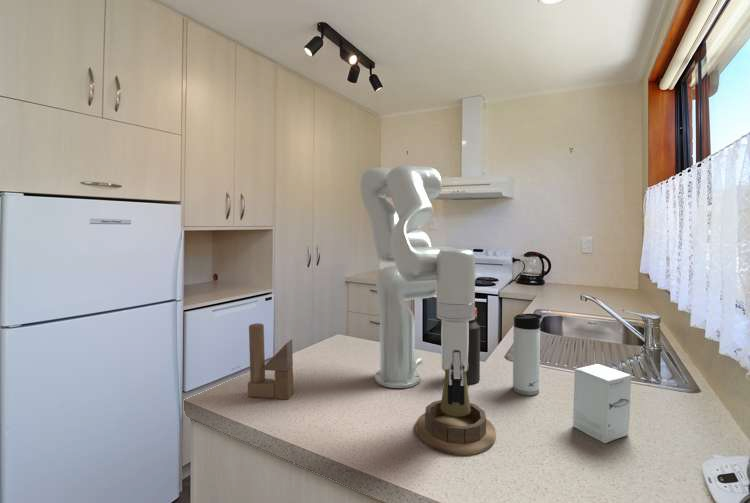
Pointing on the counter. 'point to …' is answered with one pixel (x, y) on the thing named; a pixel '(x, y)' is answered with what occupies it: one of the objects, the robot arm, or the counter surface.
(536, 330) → the travel mug
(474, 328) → the bottle
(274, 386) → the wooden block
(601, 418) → the supplement box
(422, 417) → the collar stand
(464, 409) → the olive knobbed pestle
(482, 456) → the counter surface
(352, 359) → the counter surface
